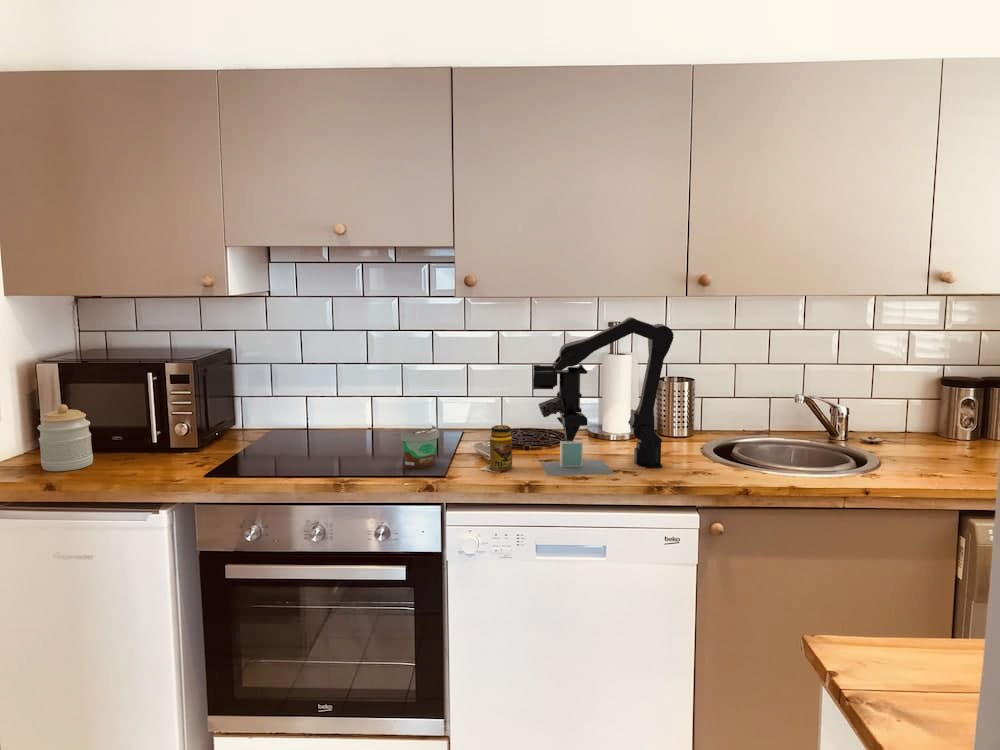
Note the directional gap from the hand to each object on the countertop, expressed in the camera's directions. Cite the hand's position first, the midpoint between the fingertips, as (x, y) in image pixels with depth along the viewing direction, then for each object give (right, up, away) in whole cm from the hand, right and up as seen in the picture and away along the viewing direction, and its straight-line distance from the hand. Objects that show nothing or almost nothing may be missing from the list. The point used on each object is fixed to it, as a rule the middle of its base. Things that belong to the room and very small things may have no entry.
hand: (569, 444), depth 222 cm
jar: (-141, -6, +2) cm, 141 cm away
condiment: (-20, -7, -2) cm, 21 cm away
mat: (+2, -7, -4) cm, 8 cm away
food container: (-40, -6, +1) cm, 41 cm away
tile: (0, -6, -2) cm, 6 cm away
